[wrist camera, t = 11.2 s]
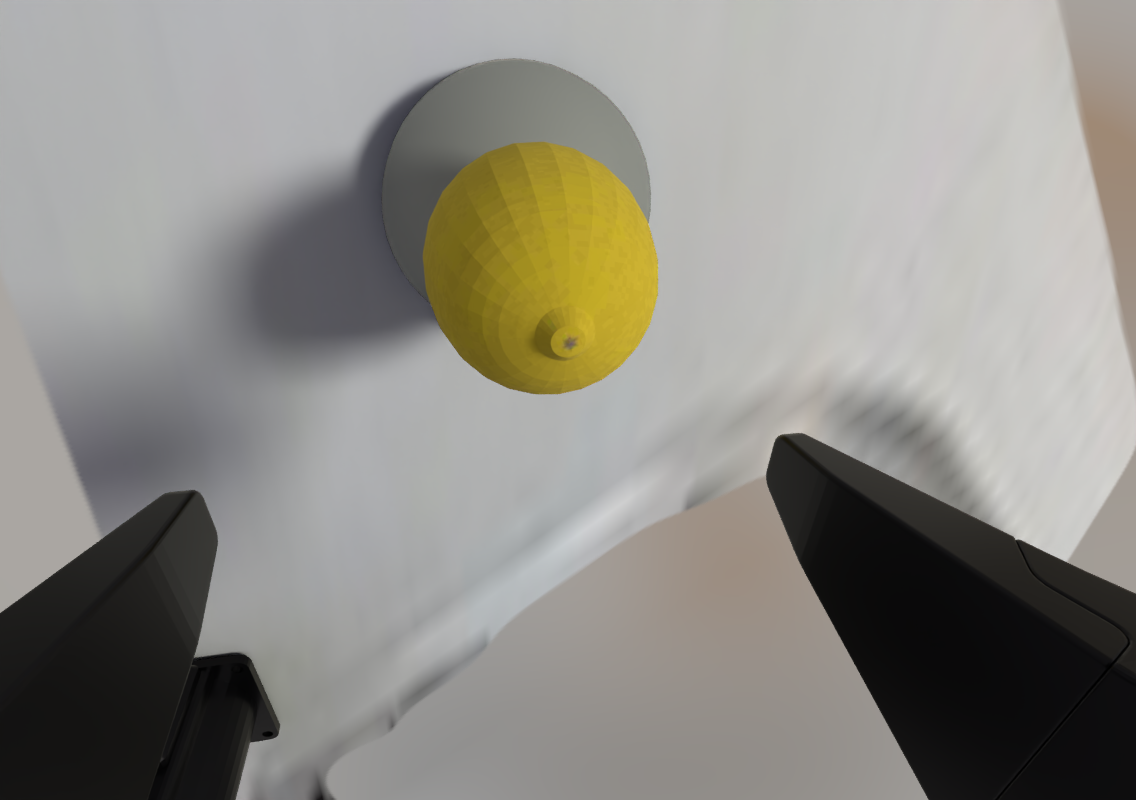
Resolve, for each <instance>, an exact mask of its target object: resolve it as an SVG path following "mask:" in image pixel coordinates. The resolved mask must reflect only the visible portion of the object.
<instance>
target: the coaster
mask: <svg viewBox="0 0 1136 800" xmlns="http://www.w3.org/2000/svg"><path fill="white" fill-rule="evenodd" d="M526 142H548V143H553V144H557V145H561V146H566V147H570V148H574V149H576V150H578V151H580V152H582V153H583V154H585V155H587V156H589V157H591V158H593V159H595V160H597V161H598V162H600V163H602V164H603V165H605V166H606V167H607V168H608V169H609V170H610V171H611V172H612V173H613V174H614V175H615V176H616V177H617V178H618V179H619V180H620V181H621V182H622V183H624V184H625V185H626V186H627V187H628V189H629V190H630V191H631V193H632V195H633V197H634V198H635V200H636V202H637V204H638V205H639V207H640V209H641V210H642V212H643V214H644V216H645V218H646V220H647V222H648V223H649V216H650V206H651V189H650V178H649V172H648V168H647V163H646V159H645V156H644V153H643V151H642V148H641V145H640V142H639V140H638V138H637V137H636V135H635V133H634V131H633V129H632V127H631V125H630V124H629V122H628V121H627V120H626V118H625V117H624V115H623V114H622V112H621V111H620V110H619V109H618V108H617V107H616V106H615V105H614V103H613V102H612V101H611V100H610V99H609V98H608V97H607V96H606V95H604V94H603V93H602V92H601V91H599V90H598V89H597V88H596V87H594V86H593V85H592V84H590V83H588V82H587V81H585V80H583V79H582V78H580V77H578V76H576V75H575V74H573V73H571V72H569V71H566V70H564V69H561V68H559V67H557V66H554V65H552V64H547V63H543V62H539V61H535V60H527V59H516V58H513V59H497V60H491V61H487V62H482V63H477V64H475V65H472V66H469V67H467V68H464V69H461V70H459V71H457V72H455V73H454V74H452V75H450V76H448V77H447V78H445V79H443V80H442V81H440V82H439V83H438V84H436V85H435V86H434V87H433V88H431V89H430V90H429V91H427V93H426V94H425V95H424V96H423V97H422V98H421V99H420V100H419V101H418V102H417V103H416V104H415V105H414V106H413V108H412V109H411V111H410V112H409V114H408V115H407V116H406V118H405V119H404V121H403V122H402V124H401V126H400V128H399V130H398V132H397V134H396V136H395V138H394V141H393V144H392V147H391V150H390V153H389V156H388V159H387V162H386V167H385V172H384V177H383V183H382V213H383V221H384V226H385V231H386V235H387V239H388V241H389V244H390V247H391V250H392V253H393V255H394V257H395V259H396V261H397V263H398V265H399V267H400V269H401V270H402V272H403V273H404V275H405V276H406V278H407V279H408V281H409V282H410V283H411V285H412V286H413V287H414V288H415V289H416V290H417V291H418V292H419V294H420V295H421V296H422V297H423V298H424V299H426V300H427V301H428V302H429V303H430V301H429V298H428V295H427V292H426V286H425V275H424V264H423V249H424V244H425V238H426V233H427V227H428V222H429V219H430V217H431V215H432V213H433V211H434V209H435V207H436V204H437V202H438V200H439V198H440V196H441V194H442V192H443V191H444V189H445V188H446V187H447V186H448V185H449V184H450V182H451V181H452V180H453V179H454V178H455V177H456V175H457V174H458V173H459V172H460V171H461V170H462V169H463V168H464V167H465V166H467V165H468V164H470V163H471V162H473V161H474V160H476V159H477V158H479V157H480V156H482V155H483V154H485V153H486V152H489V151H492V150H495V149H498V148H501V147H504V146H507V145H510V144H513V143H526ZM430 304H431V303H430Z"/></svg>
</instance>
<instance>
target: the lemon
mask: <svg viewBox="0 0 1136 800" xmlns="http://www.w3.org/2000/svg"><path fill="white" fill-rule="evenodd" d="M423 264H424V275H425V286H426V292H427V295H428V298H429V301H430V303H431V306H432V309H433V311H434V314H435V316H436V319H437V322H438V324H439V326H440V328H441V329H442V331H443V333H444V334H445V335H446V337H447V338H448V340H449V341H450V342H451V344H452V345H453V347H454V348H455V349H456V351H457V352H458V354H459V355H460V356H461V357H462V358H463V359H464V360H465V361H466V362H467V363H469V364H470V365H471V366H472V367H473V368H475V369H476V370H477V371H478V372H479V373H481V374H482V375H483V376H485V377H486V378H488V379H490V380H492V381H494V382H496V383H498V384H500V385H503V386H505V387H507V388H509V389H513V390H518V391H523V392H527V393H532V394H561V393H566V392H570V391H574V390H579V389H582V388H584V387H587V386H589V385H591V384H593V383H595V382H598V381H600V380H602V379H603V378H605V377H606V376H607V375H609V374H610V373H612V372H613V371H614V370H616V369H617V368H618V367H620V366H621V365H622V364H623V362H624V361H625V360H626V359H627V358H628V357H629V356H630V355H631V353H632V352H633V351H634V350H635V349H636V348H637V346H638V345H639V343H640V341H641V339H642V338H643V336H644V334H645V332H646V330H647V328H648V327H649V325H650V322H651V318H652V314H653V311H654V307H655V303H656V299H657V295H658V260H657V254H656V250H655V247H654V243H653V239H652V235H651V231H650V228H649V225H648V222H647V220H646V218H645V216H644V214H643V212H642V210H641V209H640V207H639V205H638V204H637V202H636V200H635V198H634V197H633V195H632V193H631V191H630V190H629V189H628V187H627V186H626V185H625V184H624V183H622V182H621V181H620V180H619V179H618V178H617V177H616V176H615V175H614V174H613V173H612V172H611V171H610V170H609V169H608V168H607V167H606V166H605V165H603V164H602V163H600V162H598V161H597V160H595V159H593V158H591V157H589V156H587V155H585V154H583V153H582V152H580V151H578V150H576V149H574V148H570V147H566V146H561V145H557V144H553V143H548V142H526V143H513V144H510V145H507V146H504V147H501V148H498V149H495V150H492V151H489V152H486V153H485V154H483V155H482V156H480V157H479V158H477V159H476V160H474V161H473V162H471V163H470V164H468V165H467V166H465V167H464V168H463V169H462V170H461V171H460V172H459V173H458V174H457V175H456V177H455V178H454V179H453V180H452V181H451V182H450V184H449V185H448V186H447V187H446V188H445V189H444V191H443V192H442V194H441V196H440V198H439V200H438V202H437V204H436V207H435V209H434V211H433V213H432V215H431V217H430V219H429V222H428V227H427V233H426V238H425V244H424V249H423Z"/></svg>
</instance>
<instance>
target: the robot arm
mask: <svg viewBox="0 0 1136 800" xmlns="http://www.w3.org/2000/svg"><path fill="white" fill-rule="evenodd" d="M766 480H767V485H768V488H769V491H770V493H771V495H772V498H773V500H774V503H775V505H776V508H777V510H778V512H779V515H780V517H781V520H782V522H783V525H784V527H785V530H786V532H787V534H788V536H789V539H790V542H791V544H792V546H793V549H794V551H795V553H796V556H797V558H798V560H799V562H800V564H801V566H802V568H803V570H804V572H805V574H806V576H807V577H808V580H809V581H810V583H811V585H812V587H813V589H814V591H815V592H816V594H817V596H818V598H819V600H820V602H821V603H822V605H823V607H824V609H825V610H826V612H827V614H828V616H829V618H830V620H831V622H832V624H833V625H834V627H835V629H836V631H837V633H838V635H839V636H840V638H841V640H842V642H843V644H844V646H845V647H846V649H847V651H848V653H849V655H850V657H851V658H852V660H853V662H854V664H855V666H856V667H857V669H858V671H859V673H860V675H861V677H862V678H863V680H864V682H865V684H866V686H867V688H868V689H869V691H870V693H871V695H872V697H873V699H874V700H875V702H876V704H877V706H878V708H879V710H880V711H881V713H882V715H883V717H884V719H885V721H886V723H887V724H888V726H889V728H890V730H891V732H892V734H893V735H894V737H895V739H896V741H897V743H898V744H899V746H900V748H901V750H902V752H903V754H904V756H905V757H906V759H907V761H908V763H909V765H910V766H911V768H912V770H913V772H914V774H915V776H916V778H917V779H918V781H919V783H920V785H921V787H922V789H923V790H924V792H925V794H926V796H927V798H928V799H929V800H1136V594H1135V593H1133V592H1131V591H1129V590H1126V589H1124V588H1122V587H1120V586H1118V585H1115V584H1113V583H1111V582H1109V581H1106V580H1104V579H1102V578H1099V577H1097V576H1095V575H1093V574H1091V573H1088V572H1086V571H1084V570H1082V569H1079V568H1077V567H1075V566H1073V565H1071V564H1069V563H1067V562H1065V561H1063V560H1061V559H1059V558H1057V557H1054V556H1052V555H1050V554H1048V553H1046V552H1044V551H1042V550H1040V549H1038V548H1036V547H1034V546H1032V545H1030V544H1028V543H1026V542H1024V541H1022V540H1015V538H1014V537H1013V536H1011V535H1009V534H1007V533H1005V532H1003V531H1001V530H999V529H997V528H995V527H993V526H991V525H989V524H987V523H985V522H983V521H981V520H979V519H977V518H975V517H973V516H971V515H968V514H966V513H964V512H962V511H960V510H958V509H956V508H954V507H952V506H950V505H948V504H946V503H944V502H942V501H940V500H938V499H936V498H934V497H932V496H930V495H928V494H926V493H924V492H922V491H920V490H918V489H915V488H913V487H911V486H909V485H907V484H905V483H903V482H901V481H899V480H897V479H895V478H893V477H891V476H889V475H887V474H885V473H883V472H881V471H879V470H877V469H875V468H873V467H871V466H869V465H867V464H865V463H863V462H860V461H858V460H856V459H854V458H852V457H850V456H848V455H846V454H844V453H842V452H840V451H838V450H836V449H834V448H832V447H830V446H828V445H826V444H824V443H822V442H820V441H818V440H816V439H814V438H812V437H810V436H808V435H805V434H803V433H793V434H782V435H780V436H778V437H777V438H776V440H775V442H774V446H773V449H772V453H771V457H770V461H769V464H768V468H767V473H766ZM217 546H218V536H217V531H216V528H215V526H214V523H213V521H212V518H211V516H210V513H209V511H208V508H207V506H206V503H205V501H204V498H203V496H202V495H201V494H200V493H199V492H198V491H195V490H188V491H177V492H169V493H165V494H163V495H162V496H160V497H159V498H157V499H156V500H155V501H153V502H152V503H151V504H149V505H148V506H147V507H145V508H144V509H142V510H141V511H140V512H138V513H137V514H136V515H134V516H133V517H131V518H130V519H129V520H127V521H126V522H125V523H123V524H122V525H120V526H119V527H118V528H116V529H115V530H114V531H112V532H111V533H109V534H108V535H107V536H105V537H104V538H103V539H101V540H100V541H99V542H97V543H96V544H94V545H93V546H92V547H90V548H89V549H88V550H86V551H85V552H83V553H82V554H81V555H79V556H78V557H77V558H75V559H74V560H72V561H71V562H70V563H68V564H67V565H66V566H64V567H63V568H61V569H60V570H59V571H57V572H56V573H55V574H53V575H52V576H51V577H49V578H48V579H46V580H45V581H44V582H42V583H41V584H40V585H38V586H37V587H35V588H34V589H33V590H31V591H30V592H29V593H27V594H26V595H24V596H23V597H22V598H20V599H19V600H18V601H16V602H15V603H13V604H12V605H11V606H9V607H8V608H7V609H5V610H4V611H2V612H1V613H0V800H235V799H236V796H237V792H238V788H239V784H240V780H241V776H242V772H243V768H244V764H245V760H246V756H247V752H248V748H249V744H250V742H256V741H263V740H269V739H273V738H275V737H277V736H278V734H279V729H280V724H279V721H278V719H277V717H276V714H275V712H274V710H273V708H272V705H271V703H270V701H269V699H268V696H267V694H266V692H265V690H264V687H263V685H262V683H261V681H260V678H259V676H258V674H257V672H256V669H255V667H254V665H253V663H252V660H251V659H250V658H249V657H247V656H244V655H234V656H226V657H219V658H212V659H204V660H197V661H193V659H194V655H195V652H196V648H197V645H198V641H199V637H200V632H201V628H202V623H203V618H204V613H205V608H206V603H207V597H208V592H209V587H210V582H211V577H212V572H213V567H214V562H215V557H216V551H217Z"/></svg>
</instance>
